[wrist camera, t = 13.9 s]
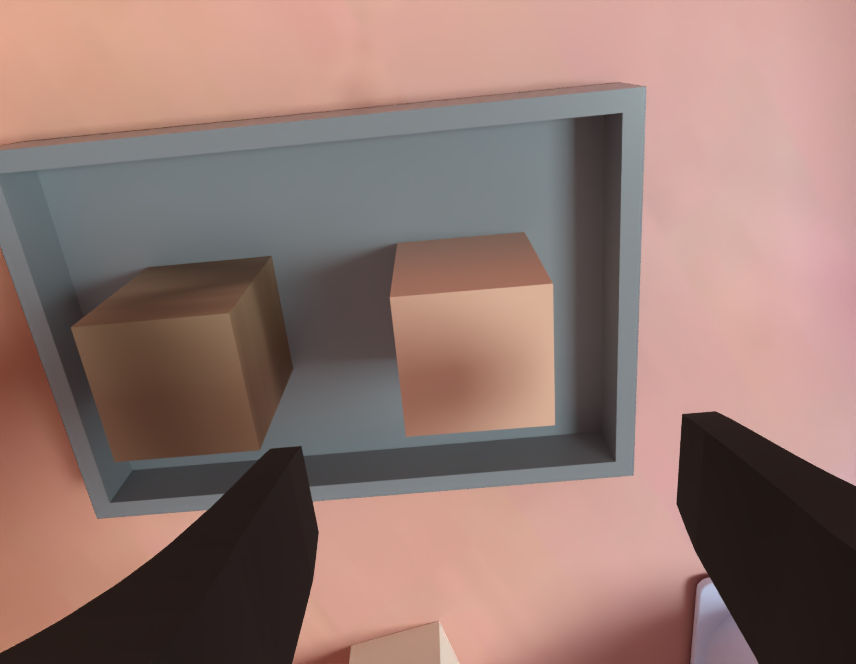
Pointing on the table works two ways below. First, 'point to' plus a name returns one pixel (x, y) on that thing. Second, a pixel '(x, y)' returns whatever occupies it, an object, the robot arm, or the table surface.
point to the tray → (347, 274)
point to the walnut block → (188, 359)
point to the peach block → (473, 334)
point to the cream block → (406, 648)
